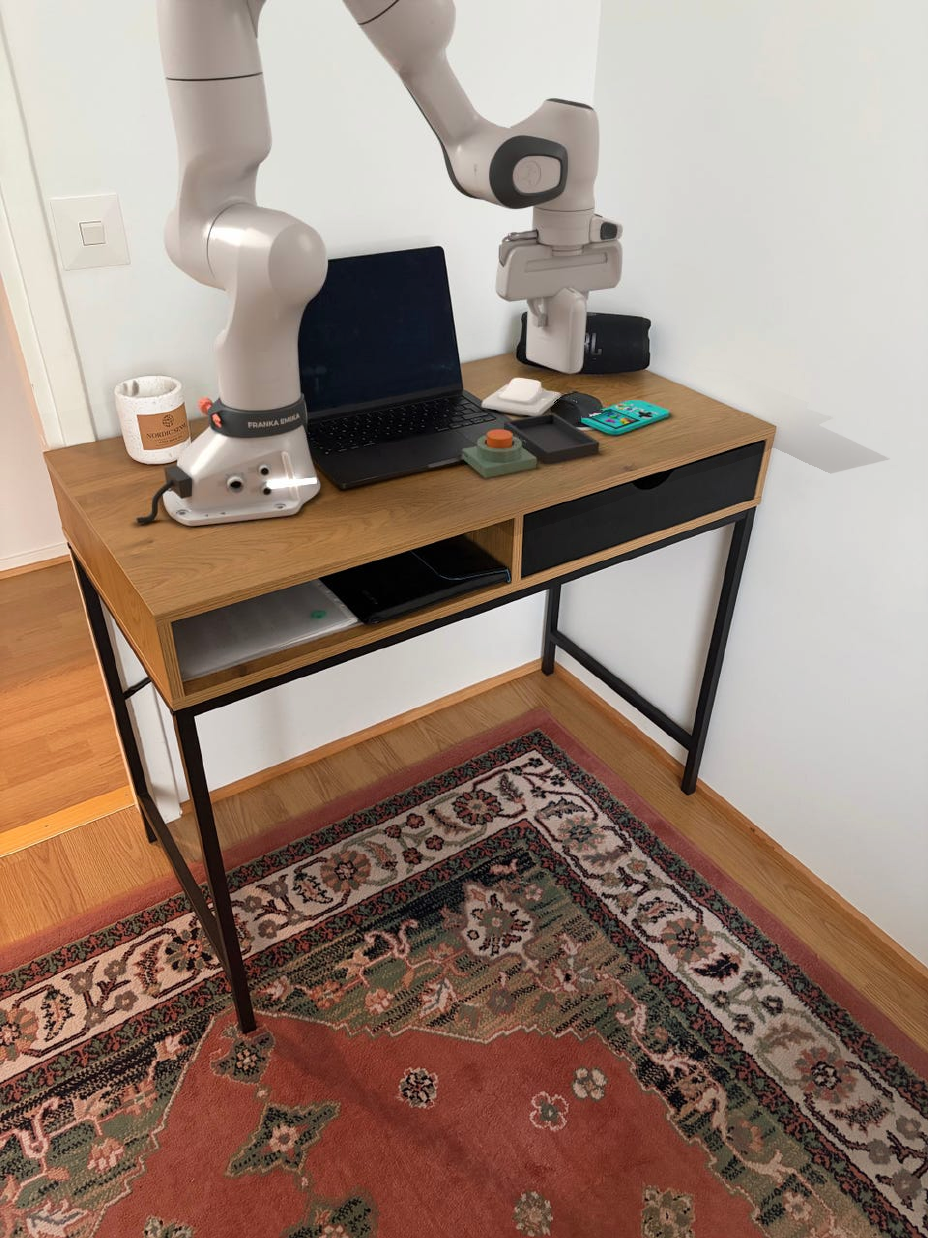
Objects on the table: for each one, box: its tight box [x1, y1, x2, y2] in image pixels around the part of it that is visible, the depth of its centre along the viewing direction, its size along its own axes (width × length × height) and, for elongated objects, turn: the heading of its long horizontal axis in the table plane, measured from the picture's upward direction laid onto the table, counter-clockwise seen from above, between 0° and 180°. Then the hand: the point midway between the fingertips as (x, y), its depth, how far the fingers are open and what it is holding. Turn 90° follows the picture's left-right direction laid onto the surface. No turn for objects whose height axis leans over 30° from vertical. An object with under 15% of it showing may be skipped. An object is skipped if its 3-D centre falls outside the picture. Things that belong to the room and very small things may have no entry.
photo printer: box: [525, 288, 588, 375], centre depth 139 cm, size 10×4×12 cm, turn 40°
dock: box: [503, 412, 600, 465], centre depth 149 cm, size 10×14×2 cm
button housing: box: [461, 434, 538, 479], centre depth 142 cm, size 9×8×4 cm
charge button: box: [486, 428, 513, 449], centre depth 141 cm, size 4×4×2 cm
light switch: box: [481, 377, 562, 417], centre depth 163 cm, size 11×4×13 cm
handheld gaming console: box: [580, 399, 670, 436], centre depth 159 cm, size 8×1×15 cm
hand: (556, 323), depth 139 cm, fingers closed on photo printer, 5 cm apart
